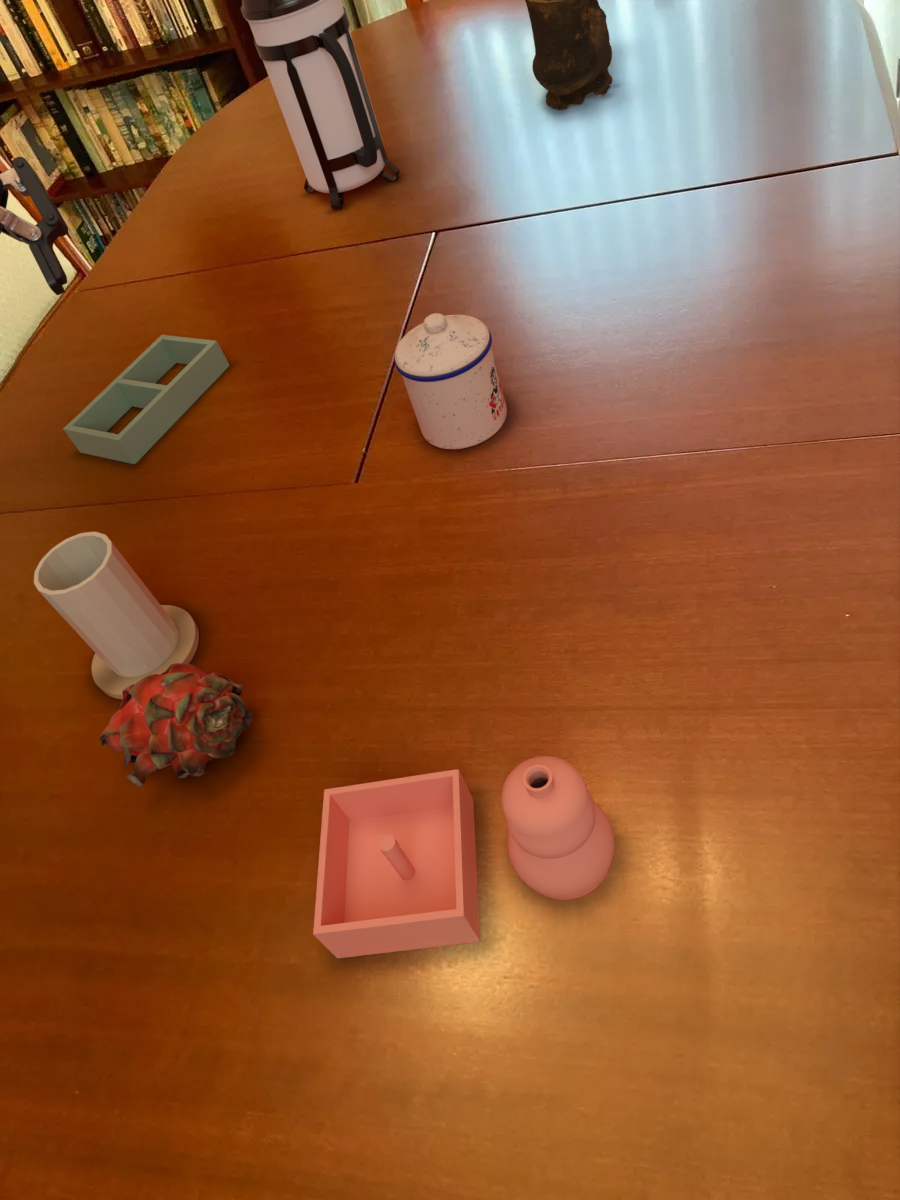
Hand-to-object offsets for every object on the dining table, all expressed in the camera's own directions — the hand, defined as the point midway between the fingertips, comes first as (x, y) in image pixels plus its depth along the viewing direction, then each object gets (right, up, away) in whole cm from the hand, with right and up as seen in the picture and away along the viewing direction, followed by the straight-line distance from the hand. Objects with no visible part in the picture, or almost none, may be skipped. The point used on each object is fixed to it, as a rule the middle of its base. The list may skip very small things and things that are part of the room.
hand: (9, 312), depth 72 cm
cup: (+10, -27, +4) cm, 29 cm away
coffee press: (+23, +37, +56) cm, 71 cm away
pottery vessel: (+55, +51, +58) cm, 95 cm away
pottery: (+38, -41, -15) cm, 57 cm away
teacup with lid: (+37, -5, +15) cm, 40 cm away
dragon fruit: (+16, -35, -3) cm, 39 cm away
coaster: (+10, -28, +5) cm, 30 cm away
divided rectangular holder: (+2, -1, +30) cm, 30 cm away
